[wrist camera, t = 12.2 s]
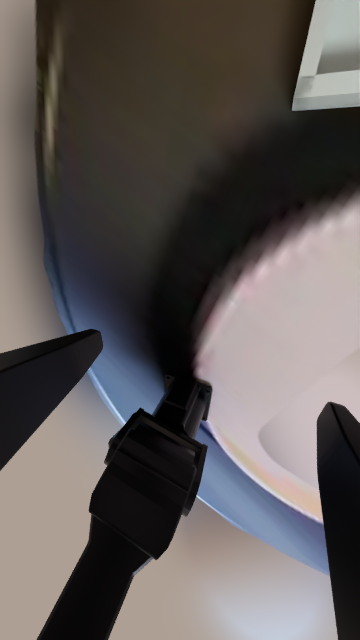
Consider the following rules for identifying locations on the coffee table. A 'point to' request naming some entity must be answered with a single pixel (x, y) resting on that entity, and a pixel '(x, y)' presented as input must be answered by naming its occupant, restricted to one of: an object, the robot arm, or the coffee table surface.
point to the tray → (331, 58)
